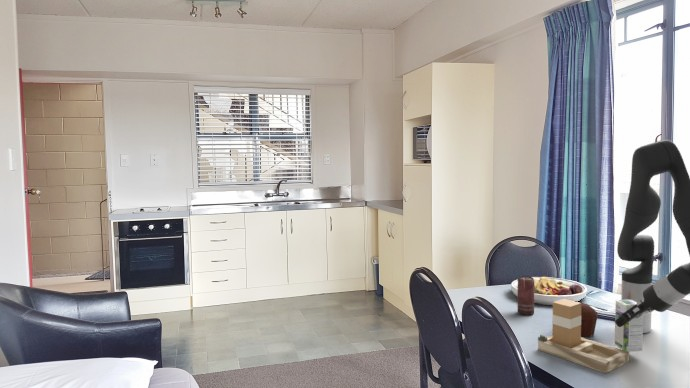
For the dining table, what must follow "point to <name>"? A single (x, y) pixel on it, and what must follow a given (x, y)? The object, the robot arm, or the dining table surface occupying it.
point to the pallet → (586, 353)
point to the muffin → (588, 320)
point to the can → (526, 296)
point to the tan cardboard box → (566, 323)
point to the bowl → (553, 290)
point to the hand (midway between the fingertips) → (624, 321)
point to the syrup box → (628, 328)
